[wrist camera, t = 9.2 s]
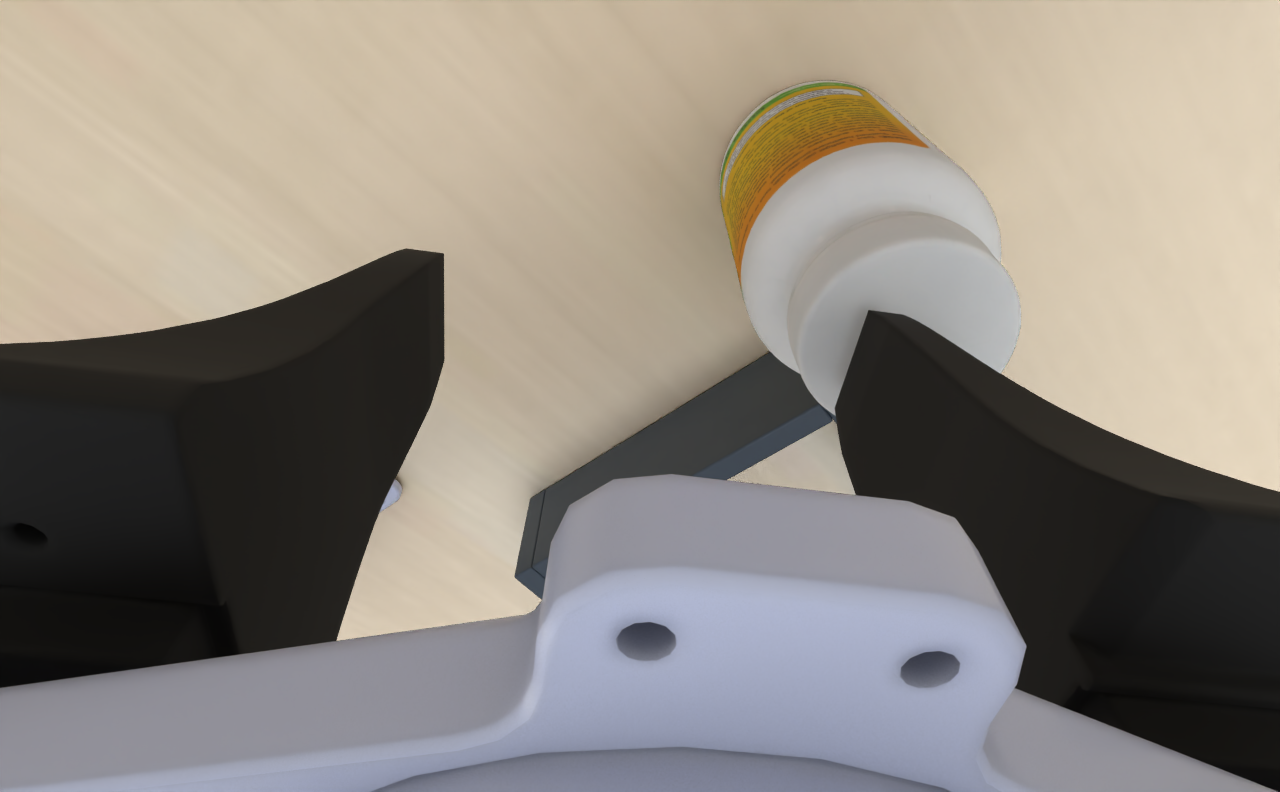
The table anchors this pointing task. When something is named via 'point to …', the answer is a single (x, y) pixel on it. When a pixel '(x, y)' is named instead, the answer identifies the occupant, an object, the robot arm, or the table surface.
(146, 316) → the table surface
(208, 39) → the table surface
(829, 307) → the supplement bottle
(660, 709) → the robot arm
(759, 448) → the tray
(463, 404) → the table surface
